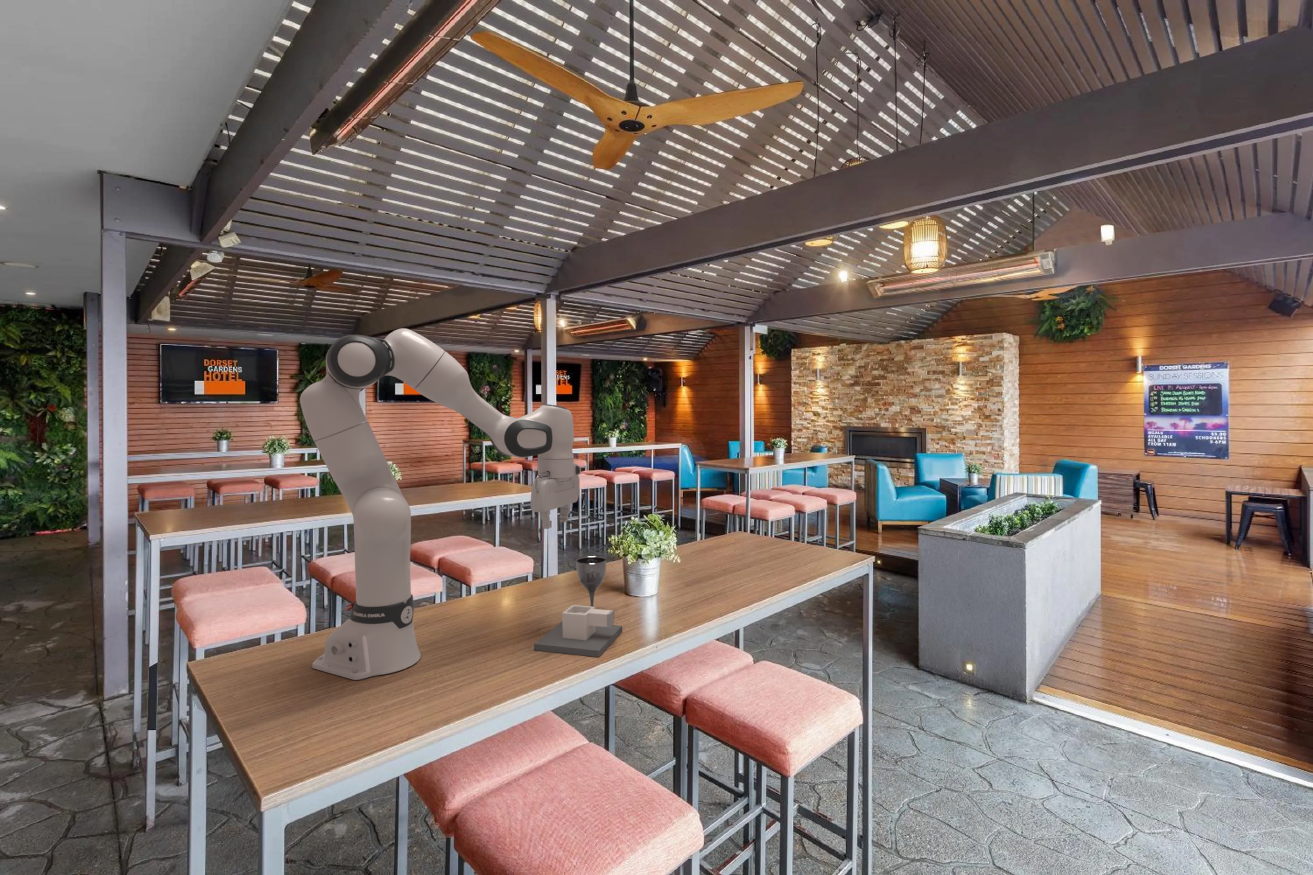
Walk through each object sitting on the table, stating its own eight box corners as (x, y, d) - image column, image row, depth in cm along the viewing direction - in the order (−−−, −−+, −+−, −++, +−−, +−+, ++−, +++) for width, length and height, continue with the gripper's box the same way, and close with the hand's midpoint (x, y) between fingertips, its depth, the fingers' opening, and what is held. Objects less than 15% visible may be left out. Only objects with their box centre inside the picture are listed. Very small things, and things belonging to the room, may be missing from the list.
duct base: (534, 650, 140) (533, 622, 139) (563, 626, 155) (562, 601, 155) (599, 657, 135) (598, 628, 135) (622, 631, 151) (621, 605, 150)
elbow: (562, 637, 143) (562, 612, 143) (572, 628, 149) (572, 604, 148) (607, 642, 140) (607, 616, 140) (616, 632, 146) (615, 608, 145)
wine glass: (602, 620, 159) (601, 564, 158) (573, 618, 160) (572, 562, 160) (610, 610, 167) (609, 556, 166) (582, 608, 168) (581, 555, 167)
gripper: (548, 474, 140) (548, 533, 140) (583, 467, 159) (583, 519, 160) (523, 473, 142) (523, 531, 142) (561, 466, 161) (561, 517, 162)
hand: (555, 525), depth 151 cm, fingers open, 8 cm apart
